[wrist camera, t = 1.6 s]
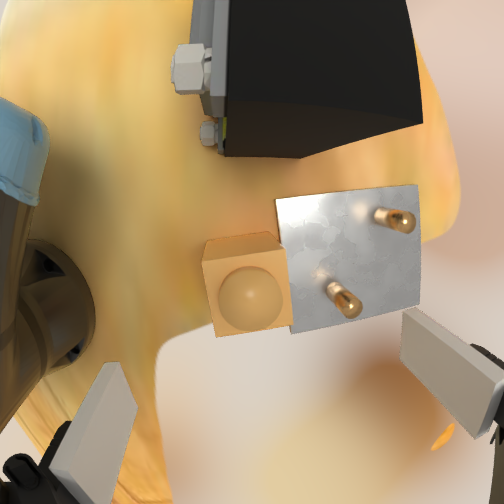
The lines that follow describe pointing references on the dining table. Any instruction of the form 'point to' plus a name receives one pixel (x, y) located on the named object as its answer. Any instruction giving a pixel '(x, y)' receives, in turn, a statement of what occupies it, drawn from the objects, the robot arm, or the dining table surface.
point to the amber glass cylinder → (344, 300)
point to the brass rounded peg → (395, 219)
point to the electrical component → (299, 73)
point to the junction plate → (349, 253)
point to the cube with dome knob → (247, 284)
